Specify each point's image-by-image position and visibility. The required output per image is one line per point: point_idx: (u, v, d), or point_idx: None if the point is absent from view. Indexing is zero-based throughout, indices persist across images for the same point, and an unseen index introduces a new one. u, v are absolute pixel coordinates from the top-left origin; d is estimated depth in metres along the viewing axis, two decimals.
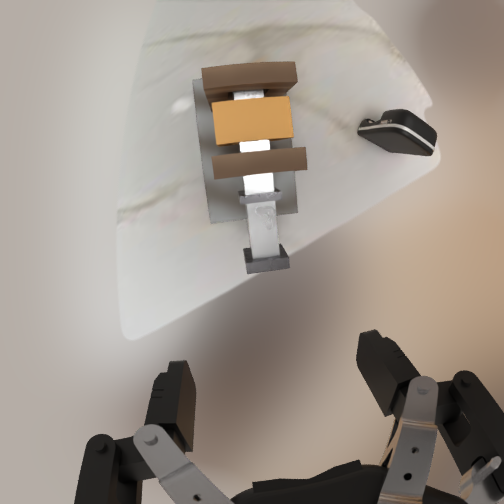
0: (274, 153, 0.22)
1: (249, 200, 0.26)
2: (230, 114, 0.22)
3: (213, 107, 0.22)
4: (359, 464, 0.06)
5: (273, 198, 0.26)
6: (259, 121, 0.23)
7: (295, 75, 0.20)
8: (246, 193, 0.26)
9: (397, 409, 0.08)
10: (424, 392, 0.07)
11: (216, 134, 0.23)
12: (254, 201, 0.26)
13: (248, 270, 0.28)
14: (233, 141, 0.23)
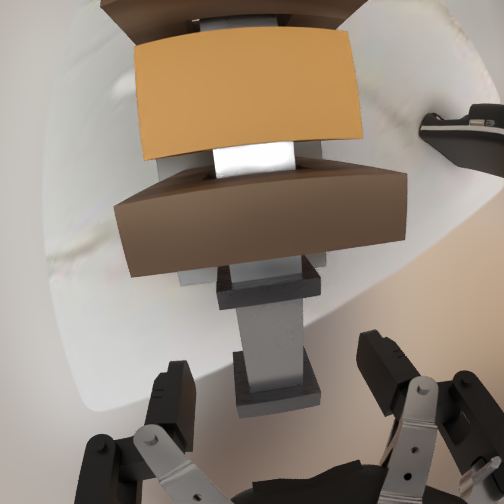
0: (321, 192, 0.07)
1: (241, 301, 0.10)
2: (184, 71, 0.07)
3: (137, 57, 0.06)
4: (359, 464, 0.06)
5: (300, 293, 0.11)
6: (268, 88, 0.07)
7: None
8: (234, 279, 0.11)
9: (397, 409, 0.08)
10: (424, 392, 0.07)
11: (143, 130, 0.07)
12: (253, 302, 0.11)
13: (241, 414, 0.13)
14: (191, 148, 0.08)
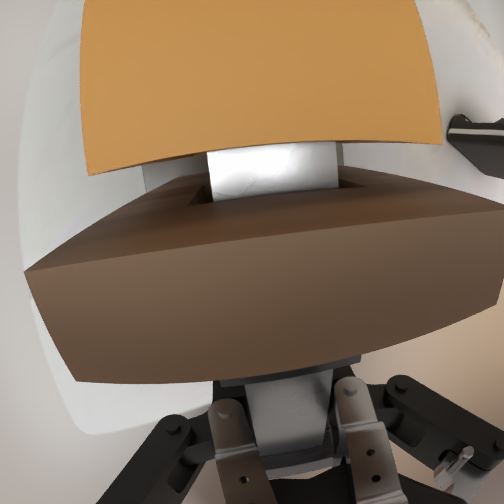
0: (415, 247, 0.03)
1: (251, 377, 0.07)
2: (157, 22, 0.03)
3: (87, 11, 0.03)
4: None
5: (334, 363, 0.07)
6: (303, 49, 0.04)
7: None
8: None
9: (329, 408, 0.09)
10: (349, 393, 0.08)
11: (86, 124, 0.04)
12: (269, 377, 0.07)
13: None
14: (166, 151, 0.04)
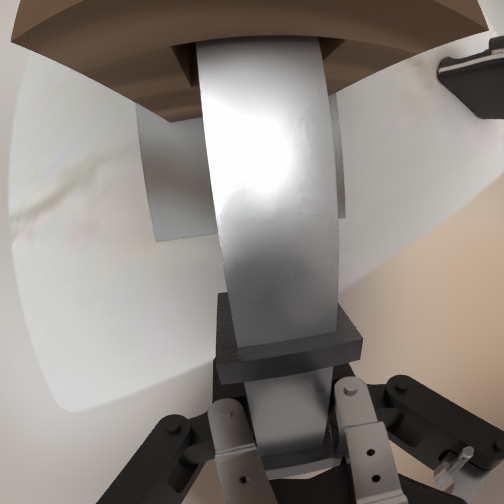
0: None
1: (251, 374, 0.07)
2: None
3: None
4: None
5: (334, 360, 0.07)
6: None
7: None
8: (240, 343, 0.07)
9: (329, 407, 0.09)
10: (349, 393, 0.08)
11: None
12: (269, 375, 0.07)
13: None
14: None
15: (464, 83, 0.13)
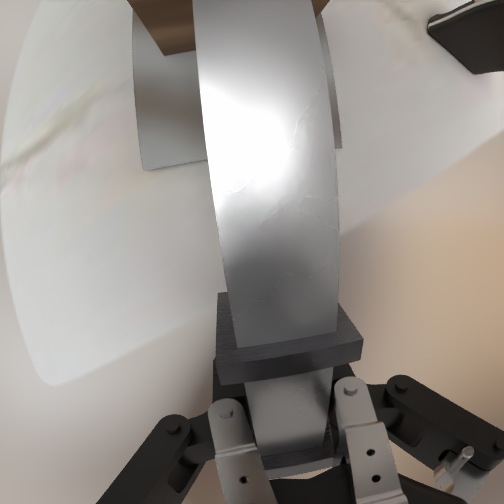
0: None
1: (251, 375, 0.07)
2: None
3: None
4: None
5: (334, 361, 0.07)
6: None
7: None
8: (240, 344, 0.07)
9: (328, 408, 0.09)
10: (349, 393, 0.08)
11: None
12: (269, 375, 0.07)
13: None
14: None
15: (453, 34, 0.11)
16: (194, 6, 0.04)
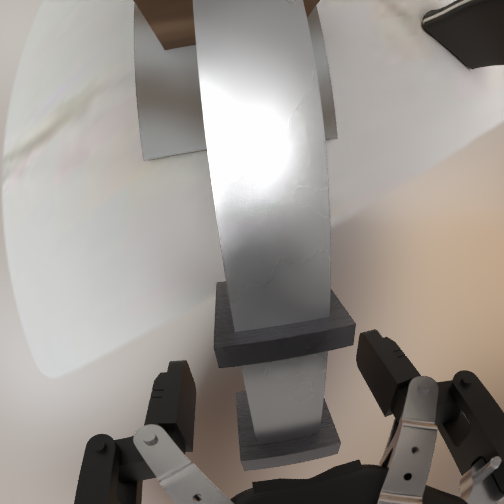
0: None
1: (248, 357, 0.07)
2: None
3: None
4: (359, 464, 0.06)
5: (327, 345, 0.07)
6: None
7: None
8: (238, 328, 0.08)
9: (397, 409, 0.08)
10: (424, 392, 0.07)
11: None
12: (265, 358, 0.07)
13: (247, 467, 0.10)
14: None
15: (447, 29, 0.12)
16: (194, 10, 0.05)
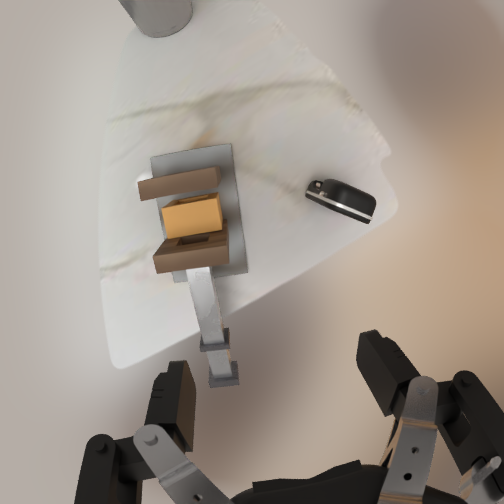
0: (201, 252, 0.29)
1: (206, 349, 0.36)
2: (175, 216, 0.33)
3: (162, 212, 0.33)
4: (359, 464, 0.06)
5: (223, 348, 0.36)
6: (195, 220, 0.34)
7: (215, 181, 0.26)
8: (204, 343, 0.36)
9: (397, 409, 0.08)
10: (424, 392, 0.07)
11: (166, 231, 0.34)
12: (210, 350, 0.36)
13: (210, 386, 0.38)
14: (179, 236, 0.34)
15: None
16: (190, 287, 0.33)
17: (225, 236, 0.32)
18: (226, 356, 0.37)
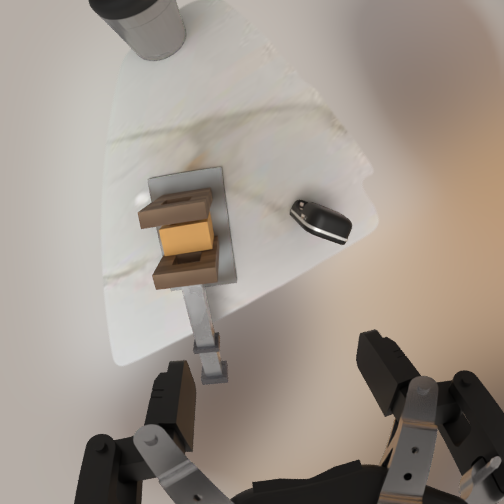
0: (193, 273, 0.33)
1: (199, 352, 0.40)
2: (171, 237, 0.38)
3: (160, 233, 0.37)
4: (359, 464, 0.06)
5: (214, 350, 0.41)
6: (189, 240, 0.38)
7: (205, 213, 0.31)
8: (197, 346, 0.41)
9: (397, 409, 0.08)
10: (424, 392, 0.07)
11: (164, 250, 0.38)
12: (202, 352, 0.41)
13: (203, 383, 0.43)
14: (174, 254, 0.39)
15: None
16: (184, 299, 0.38)
17: (215, 256, 0.37)
18: (216, 357, 0.42)
